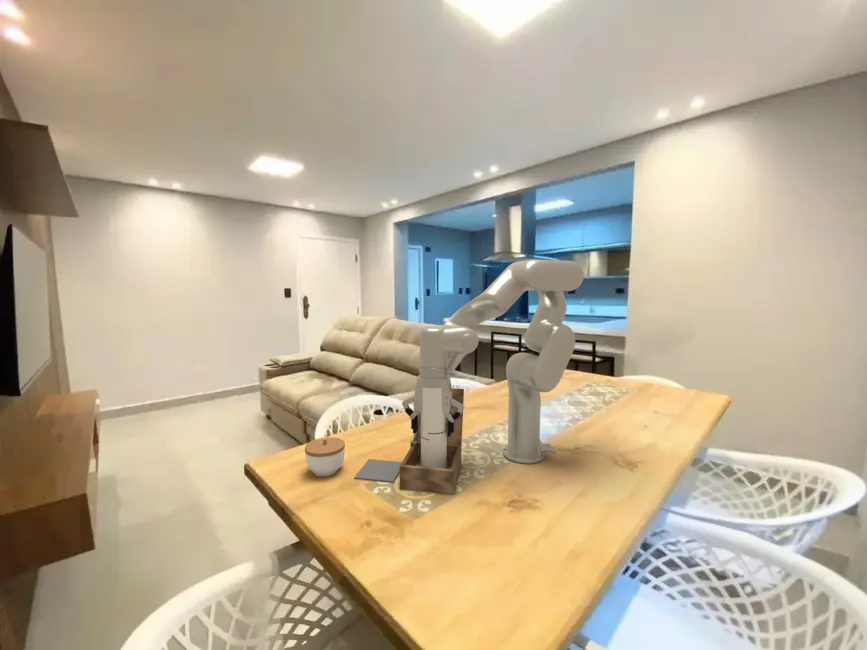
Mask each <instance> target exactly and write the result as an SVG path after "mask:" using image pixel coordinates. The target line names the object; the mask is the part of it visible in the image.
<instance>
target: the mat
mask: <svg viewBox="0 0 867 650" xmlns="http://www.w3.org/2000/svg"><path fill="white" fill-rule="evenodd" d="M401 463H402V461H395V460H394V461H393V460H384V459H375V458H374V459H372V458H368V459H367V461H365V463H364V464H363V466H362V467H361V468H360V469H359V471H358V472H357V473H356V474H355V476H354V477H353V479H354V480H362V481H363V480H364V481H372V482H382V483H392V484H393V483H394V482H395V481H396V479H397V477H398V475H400V469H399V466H400V465H401Z"/></svg>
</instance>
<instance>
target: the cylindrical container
mask: <svg viewBox="0 0 867 650" xmlns="http://www.w3.org/2000/svg"><path fill="white" fill-rule="evenodd" d="M420 466H421V467H432V468H442V469H448V467H447V466H448V465H447V417H446V416H445V415H443V413H442V388H434V387H423V405H422V413H421V463H420Z"/></svg>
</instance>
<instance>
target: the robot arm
mask: <svg viewBox="0 0 867 650" xmlns="http://www.w3.org/2000/svg"><path fill="white" fill-rule="evenodd" d="M584 273H585V271H584V269H583V268H582V266H581V265H580V264H579V263H578V262H577V261H574V260H560V259H558V260H555V259H553V260H551V259H526V260H517V261H515V262H512V263H511V264H510V265H508V266H507V267H506V268H505V269H504V270H503V271H502V272H501V273H500V274H499V275H498V276H497V277H496V279H494V281H492V282H491V284H490V285H489V286H488V287H487V288H486V289H485V290H484V291H483V292H482V293H481V294H479V295H477V296H476V297H475V298H473V299H471V301H469V302H467V303H466V304H465V305H463V306H462V307H460V308H459V309H458V310H456V311H455V312H454V313H453V314H452V315H451V316H450V317H449V319H448V320H446V321H445V322H444V323H443V325H442V326H425V327H422V328H421V330H420V333H419V375H417V377H416V380H415V381H416V382H415V385H414V386H415V387H414V395H413V396H411V397H409V398H407V399H404V400H403V401H402V402H401V405H402V408H403V409H404V412H405V413H406V414H407V415H408V416H409V419H410V423H411V425H410V429H411V430H412V434H413V435H414V434H415V433H416V432H417V430H418V416H417V414H418V413H422V405H423V387H434V388H442V413H443V415H445V416H446V417H447V418H448V419H449V421H448V437H450V436H451V433H453V432H454V421H455V420H456V419H457V418H458V417H459V416H460V415H461V413H462V411H463V412H464V409H465V404H464V403H463V404H461V403H459V402H458V401H456V400H454V399H452V388H453V387H452V381H451V377H450V376H449V375H452V374H453V372H454V370H453V368H450V367H449V365H448V357H449V356H448V354H456V355H468V354H471V353H473V352H474V351H475V350H476V349H477V348H478V346H479V340H480V339H479V335H478V334H477V332H476V331H475V330H474V328H475V327H477V326H478V325H480V324H482V323H484V322H486V321H489V320H492V319H493V320H494V319H496V318H498V317H500V316H503V315H504V314H505V313H506V312H508V310H509V309H510V308H511V307H512V306H513V304H515V302H517V300H519V298H520V297H522V295H523V294H524V293H525V292H527V291H537V295H538V304H537V307H536V310H535V312H534V315H533V317H532V318H531V321H530V322H529V325H528V327H527V329H526V332H525V335H524V338H523V339H524V345H525V346H526V347H527V348H528V349H530V350H531V351H534V352H537V353H539V355H536V354H532V353H528V352H518V353H515V354H513V355H512V356H510V357H509V359H508V361H507V362H506V366H505V372H506V373H505V375H506V380H507V381H506V382H507V386H508V387H507V388H508V405H507V406H508V407H507V408H508V409H507V412H508V414H507V415H508V416H507V444H506V445H504V446H503V448H502V455H503V456H504V457H505V458H506V459H508V460H510V461H512V462H515V463H519V464H528V465H529V464H536V463H540V462H542V461H543V460H544V459H545V454H546V453H550V454H556V451H557V450H556V446H553V445H551V443H548V442H547V443H545V442H544V443H543V442H542V441H541V410H542V409H541V406H542V400H541V393H549V392H551V391H553V390H554V389H555V388H557V386H558V385H559V383H560V381H561V379H562V377H563V375H564V374H565V373H564V372H565V371H566V369H567V366H568V364H569V362H570V359H571V357H572V355H573V352H574V349H575V347H576V336H575V332H574V331H573V329H572V328H571V327H570V326H568V325H567V324H564V323H563V321H564V319H565V316H566V313H567V310H568V309H567V308H568V304H567V301H566V297H565V294H564V292H572V291H574V290H576V289H578V288H579V287H580V286H581V285H582V283H583V281H584V277H585V274H584ZM411 403H413V409H412V408H411V407H410V404H411ZM452 405H453V406H455V407H457V408H458V411H457V412H456V413H455V414H453V413H452V411H451V409H452Z"/></svg>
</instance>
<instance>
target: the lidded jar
mask: <svg viewBox="0 0 867 650" xmlns="http://www.w3.org/2000/svg"><path fill="white" fill-rule="evenodd" d="M345 446H346V443H345V441H344V440H343V439H341V438H338V437H332V436H330V437H321V438H316V439H313V440H311V441H309V442H308V443H306V445H305V447H304V452H305V462H306V465H307V467H308V469H309V470H310V471H311V472H312V473H314V475H315V476H317V477H321V478H322V477H329V476H332V475H334V474H336V472H337V471H338V470H339V469H340V468H341V466H342V464H343V462H344V459H345Z"/></svg>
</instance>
